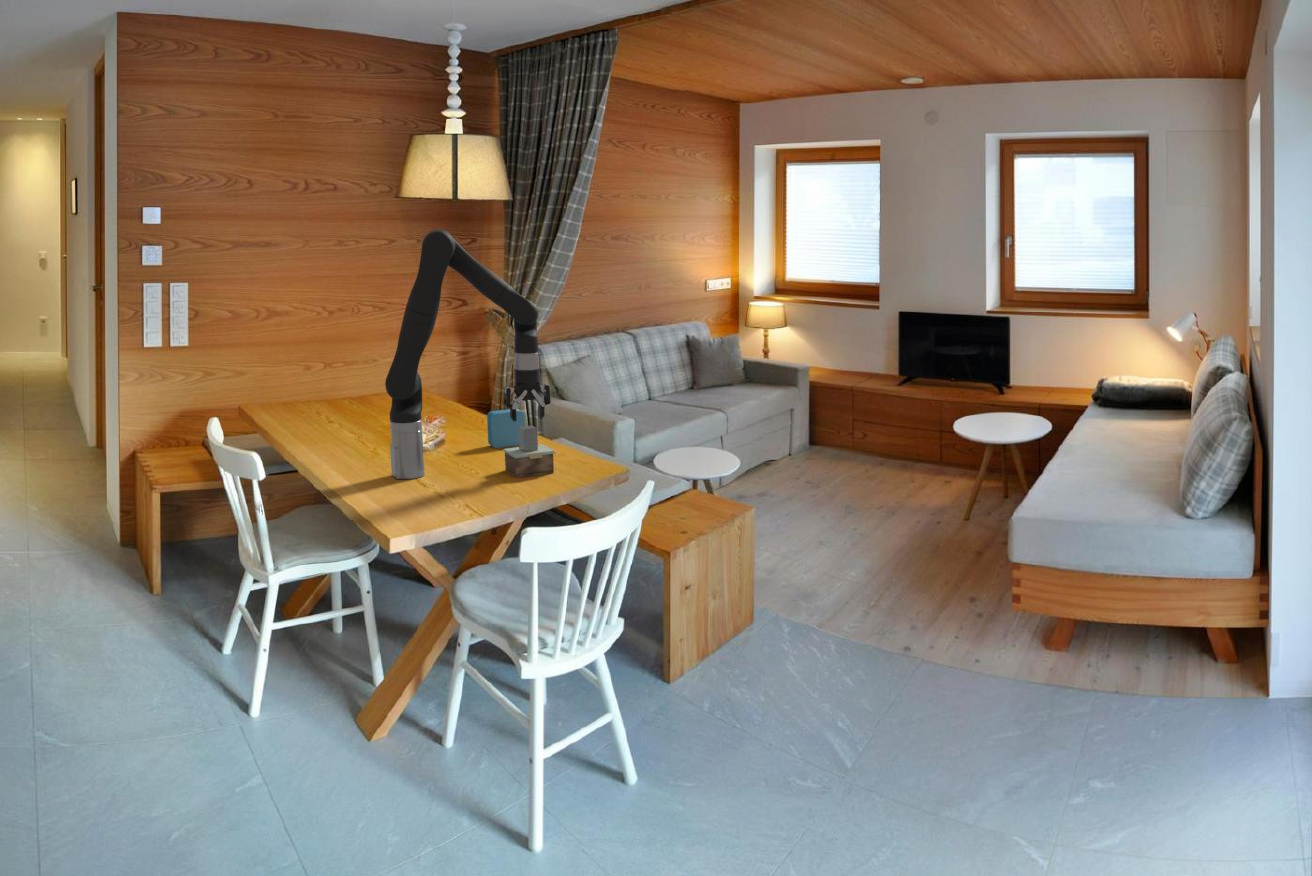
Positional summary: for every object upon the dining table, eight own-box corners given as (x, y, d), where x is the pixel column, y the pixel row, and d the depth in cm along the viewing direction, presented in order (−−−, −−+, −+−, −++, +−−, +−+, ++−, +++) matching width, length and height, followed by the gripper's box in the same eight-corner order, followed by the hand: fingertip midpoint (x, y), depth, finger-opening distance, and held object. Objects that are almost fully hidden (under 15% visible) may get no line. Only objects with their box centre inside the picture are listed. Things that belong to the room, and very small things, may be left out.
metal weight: (524, 452, 319) (523, 429, 317) (519, 449, 323) (518, 426, 321) (537, 450, 321) (537, 427, 319) (532, 447, 325) (531, 425, 323)
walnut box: (516, 477, 316) (516, 458, 315) (505, 470, 325) (504, 451, 324) (553, 472, 322) (553, 453, 320) (541, 465, 330) (541, 447, 329)
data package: (521, 442, 363) (520, 408, 360) (526, 444, 359) (524, 410, 356) (488, 446, 357) (486, 411, 355) (492, 448, 353) (491, 413, 351)
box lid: (516, 460, 314) (516, 455, 313) (503, 453, 324) (503, 448, 323) (555, 455, 320) (555, 450, 319) (542, 448, 329) (542, 443, 329)
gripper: (508, 370, 310) (509, 424, 313) (553, 367, 316) (553, 420, 320) (499, 366, 316) (501, 419, 320) (544, 363, 323) (544, 415, 326)
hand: (527, 419), depth 320 cm, fingers open, 8 cm apart
